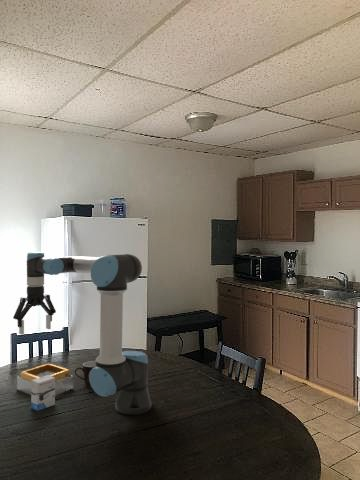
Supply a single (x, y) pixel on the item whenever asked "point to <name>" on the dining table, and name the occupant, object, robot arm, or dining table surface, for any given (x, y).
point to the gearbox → (60, 374)
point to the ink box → (42, 392)
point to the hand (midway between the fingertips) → (35, 331)
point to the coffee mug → (87, 371)
